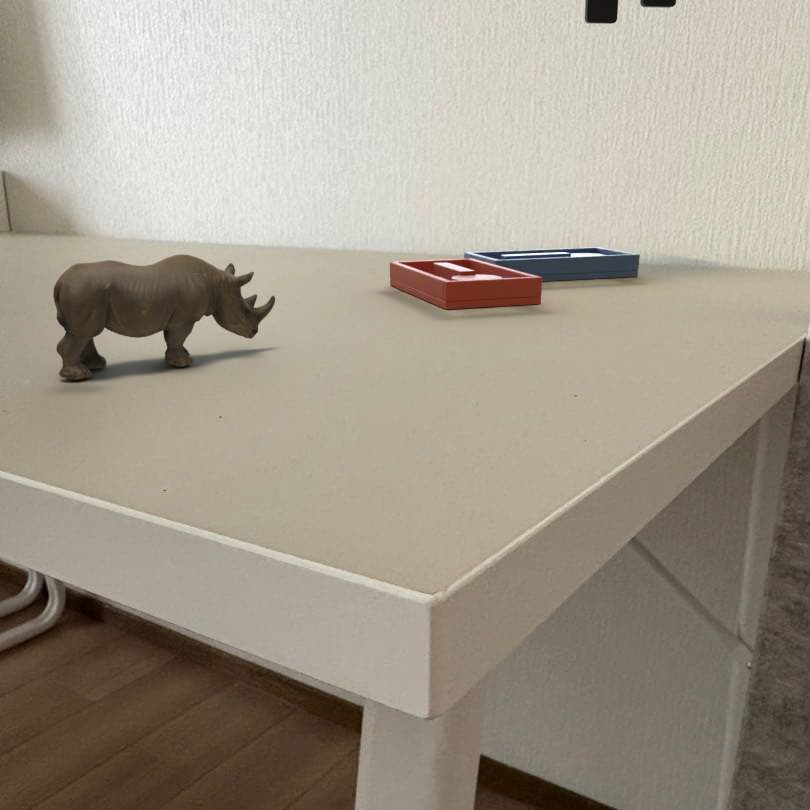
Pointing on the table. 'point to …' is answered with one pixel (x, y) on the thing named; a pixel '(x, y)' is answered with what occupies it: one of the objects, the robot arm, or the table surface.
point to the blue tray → (567, 263)
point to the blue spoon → (545, 255)
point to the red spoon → (457, 272)
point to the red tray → (466, 284)
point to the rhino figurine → (148, 306)
